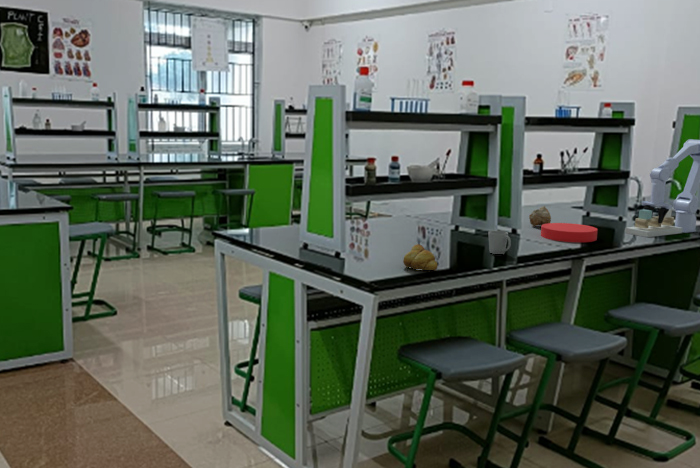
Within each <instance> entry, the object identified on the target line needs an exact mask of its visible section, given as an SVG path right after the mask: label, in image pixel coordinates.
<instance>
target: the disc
mask: <svg viewBox="0 0 700 468" xmlns="http://www.w3.org/2000/svg"><path fill="white" fill-rule="evenodd" d="M540 226H541V225H540ZM540 229H541V230H540V236H541V238H544V239H548V240H550V239H551V241H558V242H564V243H565V242H566V243H592V242H595V241H597V239H598V228H597V227H595V226H591V225H587V224H586V225H585V224H581V223H580V224H578V223H572V222H571V223H568V222H567V223H566V222H550V223H548V224H543V225H542V226H541V228H540Z"/></svg>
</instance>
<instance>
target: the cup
mask: <svg viewBox="0 0 700 468" xmlns="http://www.w3.org/2000/svg"><path fill="white" fill-rule="evenodd" d="M507 242H508V243H507ZM511 243H512V240H511V237H510V236H509V232H508V231H505V230H504V231H503V230H489V231H488V246H489V247H488V250H489V254H490V253H494V254H503V255H505V253H506V252H508V251H509V250H510V249H511V246H512V244H511Z"/></svg>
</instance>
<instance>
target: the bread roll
mask: <svg viewBox="0 0 700 468" xmlns="http://www.w3.org/2000/svg"><path fill="white" fill-rule="evenodd" d="M402 261H403V262H402V263H403V265H404V266H405V267H406V268H407V267H411V268H410V269H412V268H413V269H412V270H414V269H422V270H421V271H423V270H434V271H436V270H437V269H438V262H437V260H436V257H435V255H434V253H433V252H431V251H430V250H428V249H425V247H424V246H423V245H421V244H420V243H418V244H417V243H416V244H415V245H413V246H412V247H411V250H410V251H408V252H407V253H406V254H405V255H404V256H403V260H402Z"/></svg>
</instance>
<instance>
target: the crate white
mask: <svg viewBox="0 0 700 468" xmlns="http://www.w3.org/2000/svg"><path fill="white" fill-rule="evenodd" d="M672 211H673V208H672V209H669V211H668V212H667V213H666V215H665V217H664V218H668V217H672Z"/></svg>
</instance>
